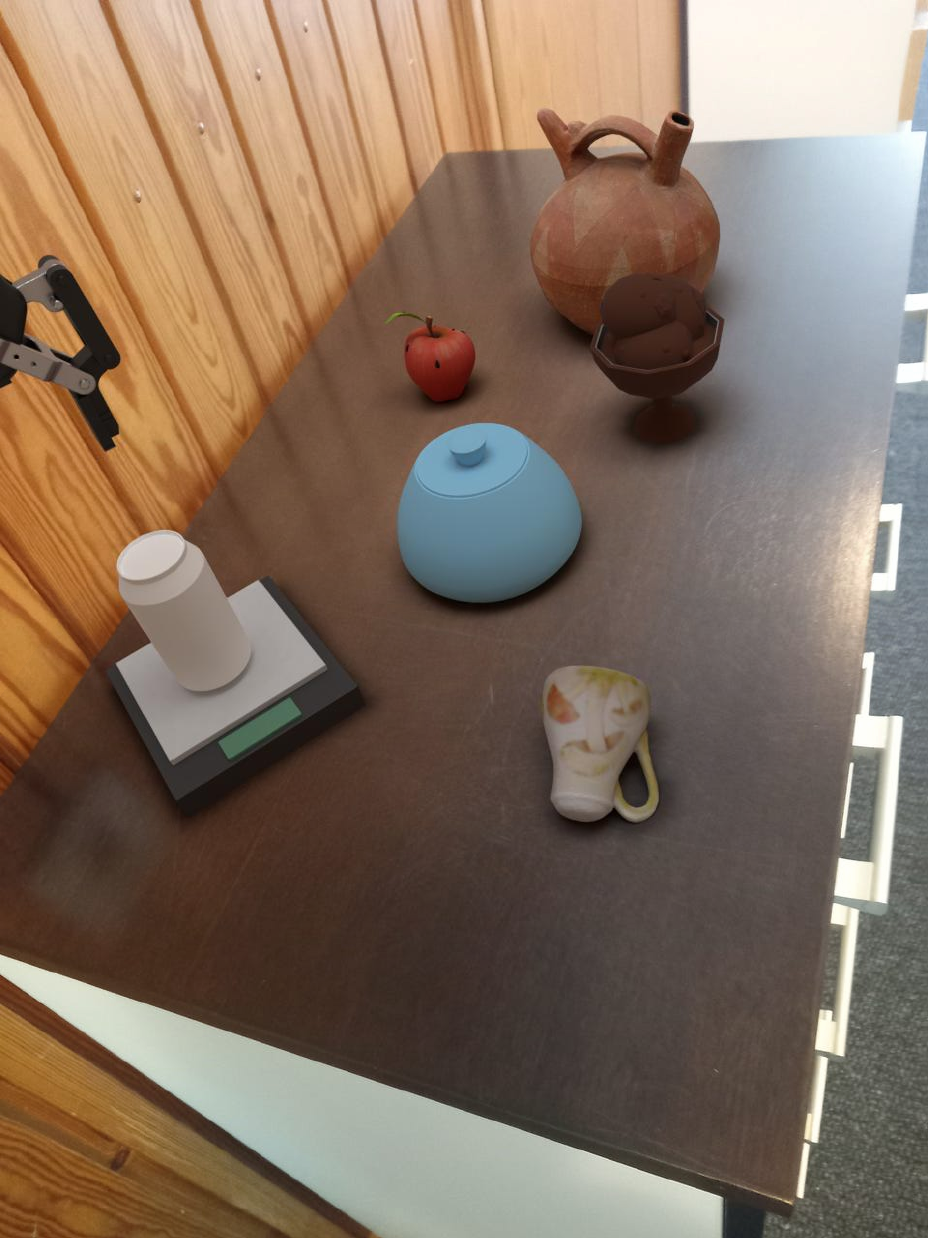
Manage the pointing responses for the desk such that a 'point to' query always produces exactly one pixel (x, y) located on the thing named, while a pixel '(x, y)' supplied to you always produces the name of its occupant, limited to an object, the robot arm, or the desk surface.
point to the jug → (620, 214)
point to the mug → (596, 740)
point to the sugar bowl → (486, 515)
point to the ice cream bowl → (657, 347)
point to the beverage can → (183, 610)
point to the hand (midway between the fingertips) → (37, 479)
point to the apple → (438, 359)
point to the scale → (238, 702)
